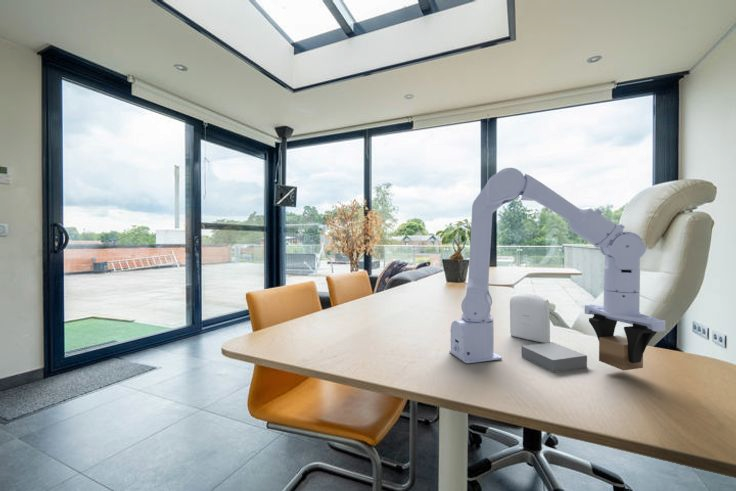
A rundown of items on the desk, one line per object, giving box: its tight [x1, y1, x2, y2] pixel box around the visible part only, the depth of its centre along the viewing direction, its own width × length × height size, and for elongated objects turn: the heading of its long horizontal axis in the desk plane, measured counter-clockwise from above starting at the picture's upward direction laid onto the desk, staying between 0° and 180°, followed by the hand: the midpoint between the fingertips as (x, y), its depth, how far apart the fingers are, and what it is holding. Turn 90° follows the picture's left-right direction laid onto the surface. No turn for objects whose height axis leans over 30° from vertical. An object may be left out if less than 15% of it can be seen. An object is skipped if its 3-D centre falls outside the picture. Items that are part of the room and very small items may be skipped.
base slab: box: [521, 341, 588, 373], centre depth 71 cm, size 9×9×3 cm
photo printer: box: [509, 293, 551, 344], centre depth 87 cm, size 10×4×12 cm, turn 39°
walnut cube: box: [598, 334, 644, 371], centre depth 64 cm, size 5×5×5 cm
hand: (620, 356), depth 64 cm, fingers closed on walnut cube, 5 cm apart
